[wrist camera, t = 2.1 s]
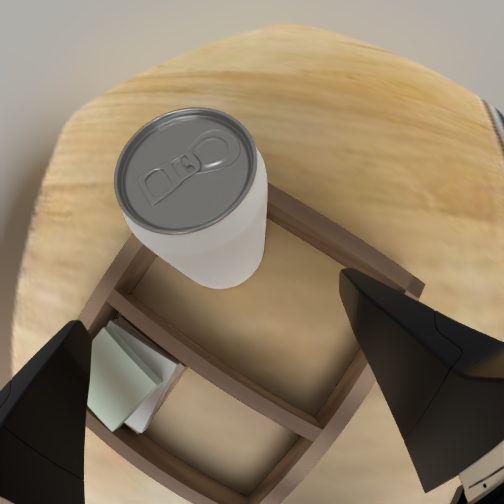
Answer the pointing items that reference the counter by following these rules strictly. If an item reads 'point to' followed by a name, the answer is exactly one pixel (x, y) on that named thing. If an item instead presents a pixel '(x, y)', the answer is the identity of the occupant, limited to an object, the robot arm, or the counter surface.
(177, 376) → the offcut stack
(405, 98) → the counter surface
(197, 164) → the can
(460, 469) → the robot arm
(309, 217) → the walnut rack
